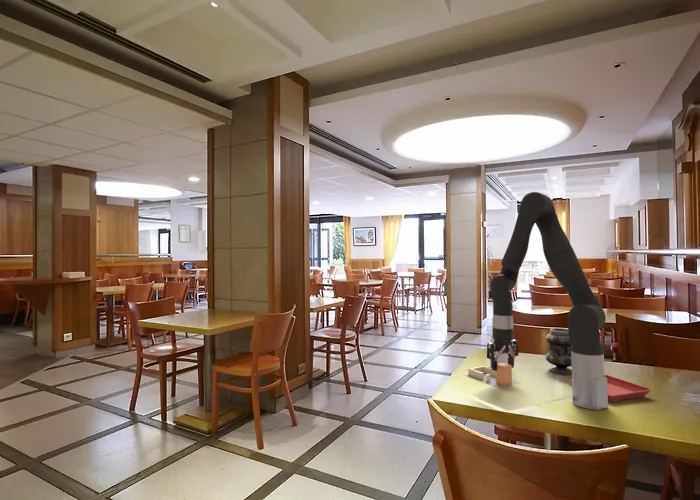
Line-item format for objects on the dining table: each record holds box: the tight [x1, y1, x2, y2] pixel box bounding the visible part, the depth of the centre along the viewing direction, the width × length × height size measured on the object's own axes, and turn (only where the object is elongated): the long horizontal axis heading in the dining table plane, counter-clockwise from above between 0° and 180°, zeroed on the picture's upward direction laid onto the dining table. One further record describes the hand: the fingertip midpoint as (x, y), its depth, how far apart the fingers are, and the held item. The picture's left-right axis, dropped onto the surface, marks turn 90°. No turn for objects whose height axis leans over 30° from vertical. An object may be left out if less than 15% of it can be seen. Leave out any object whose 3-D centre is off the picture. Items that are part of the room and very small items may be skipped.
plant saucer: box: [569, 374, 652, 402], centre depth 142 cm, size 18×18×3 cm
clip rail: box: [464, 365, 521, 388], centre depth 156 cm, size 17×12×4 cm
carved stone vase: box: [545, 327, 572, 376], centre depth 168 cm, size 12×12×18 cm
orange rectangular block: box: [496, 363, 513, 386], centre depth 151 cm, size 4×4×7 cm
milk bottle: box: [489, 336, 509, 368], centre depth 172 cm, size 8×8×20 cm
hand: (502, 368), depth 152 cm, fingers open, 8 cm apart
